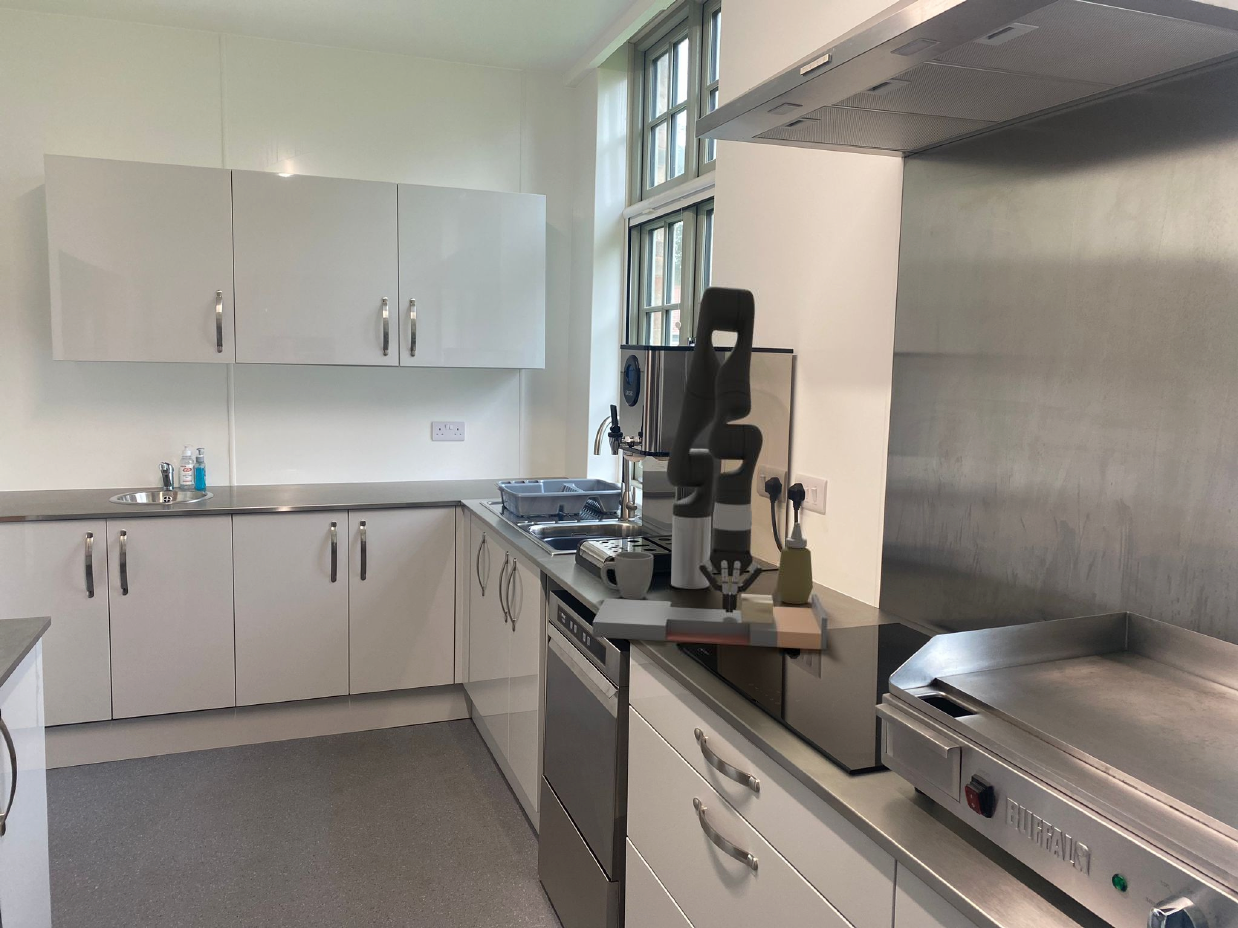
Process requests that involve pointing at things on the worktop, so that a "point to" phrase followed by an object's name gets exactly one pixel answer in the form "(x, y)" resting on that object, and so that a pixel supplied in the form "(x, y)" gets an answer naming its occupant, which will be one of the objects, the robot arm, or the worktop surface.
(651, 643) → the worktop surface
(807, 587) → the squeeze bottle
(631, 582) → the mug
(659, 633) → the trap deck
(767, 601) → the maple block
